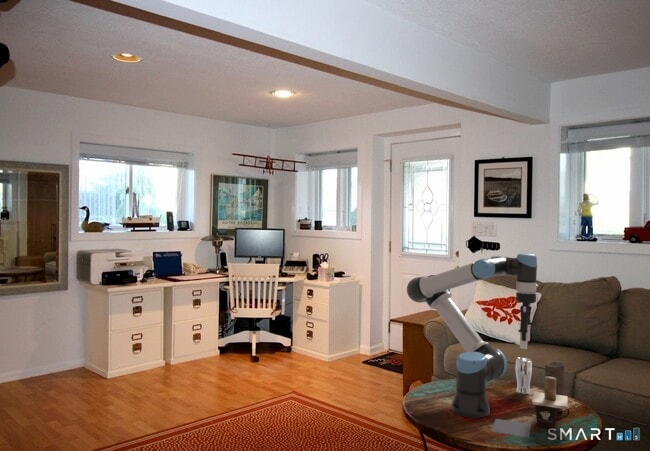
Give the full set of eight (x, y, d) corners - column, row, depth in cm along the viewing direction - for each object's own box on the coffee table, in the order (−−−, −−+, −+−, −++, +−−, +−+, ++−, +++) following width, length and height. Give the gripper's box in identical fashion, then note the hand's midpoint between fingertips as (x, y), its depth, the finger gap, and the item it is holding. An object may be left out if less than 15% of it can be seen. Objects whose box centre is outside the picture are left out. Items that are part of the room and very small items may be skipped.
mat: (491, 432, 196) (491, 431, 196) (495, 419, 208) (495, 418, 208) (529, 439, 191) (529, 437, 191) (531, 425, 203) (531, 424, 203)
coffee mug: (529, 425, 203) (529, 399, 203) (541, 419, 208) (542, 394, 208) (558, 435, 194) (558, 408, 194) (570, 429, 199) (570, 403, 199)
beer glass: (532, 391, 241) (533, 358, 240) (529, 395, 235) (530, 362, 235) (517, 388, 245) (517, 356, 244) (513, 392, 239) (514, 360, 238)
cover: (532, 404, 198) (532, 380, 198) (534, 394, 209) (534, 371, 209) (567, 409, 193) (568, 385, 193) (567, 398, 204) (567, 375, 204)
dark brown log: (565, 414, 214) (566, 365, 213) (546, 413, 215) (547, 364, 214) (560, 407, 221) (561, 360, 220) (542, 406, 223) (543, 359, 222)
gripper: (534, 297, 199) (533, 353, 200) (538, 288, 221) (536, 338, 222) (513, 296, 202) (512, 351, 203) (519, 287, 225) (517, 336, 225)
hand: (525, 344), depth 212 cm, fingers open, 13 cm apart
